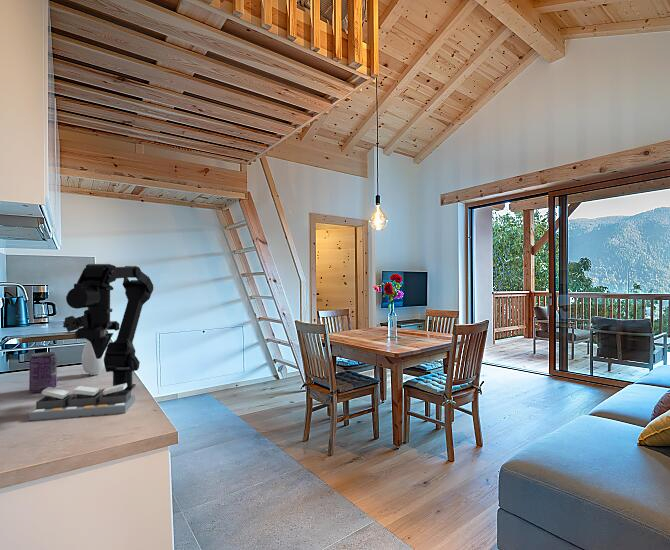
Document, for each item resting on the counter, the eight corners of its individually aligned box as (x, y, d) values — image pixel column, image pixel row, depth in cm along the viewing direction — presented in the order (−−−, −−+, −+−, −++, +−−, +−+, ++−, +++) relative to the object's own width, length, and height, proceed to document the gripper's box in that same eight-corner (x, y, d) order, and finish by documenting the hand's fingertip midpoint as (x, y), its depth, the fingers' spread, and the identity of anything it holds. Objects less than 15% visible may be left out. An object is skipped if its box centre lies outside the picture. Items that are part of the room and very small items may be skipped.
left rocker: (47, 390, 105) (49, 386, 105) (67, 395, 107) (69, 391, 107) (41, 393, 102) (42, 390, 102) (62, 399, 103) (63, 395, 103)
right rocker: (107, 391, 109) (107, 387, 109) (127, 386, 110) (126, 383, 110) (103, 394, 106) (102, 391, 106) (123, 389, 107) (123, 386, 107)
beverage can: (52, 385, 130) (53, 350, 130) (59, 389, 126) (59, 353, 126) (26, 390, 125) (26, 354, 125) (32, 394, 120) (32, 356, 120)
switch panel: (47, 407, 108) (47, 392, 108) (134, 401, 114) (135, 386, 114) (28, 420, 98) (28, 403, 98) (125, 413, 104) (125, 396, 104)
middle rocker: (78, 389, 107) (78, 385, 107) (98, 391, 108) (99, 388, 109) (72, 393, 104) (73, 389, 104) (93, 395, 105) (94, 392, 105)
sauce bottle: (79, 378, 140) (79, 329, 140) (83, 373, 147) (84, 326, 147) (104, 376, 143) (104, 328, 143) (107, 371, 150) (107, 325, 150)
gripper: (80, 304, 120) (80, 353, 120) (53, 309, 102) (52, 367, 102) (120, 303, 123) (119, 352, 123) (99, 308, 105) (99, 364, 105)
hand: (98, 358), depth 113 cm, fingers closed
